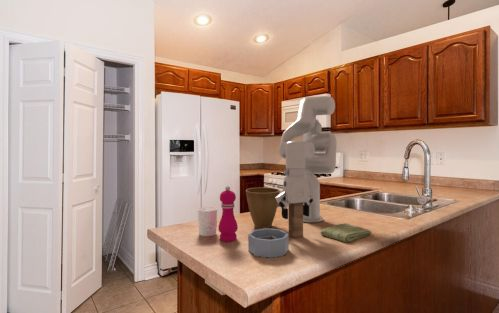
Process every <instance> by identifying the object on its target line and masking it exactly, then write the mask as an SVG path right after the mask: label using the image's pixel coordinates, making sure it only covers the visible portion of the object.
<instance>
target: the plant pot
mask: <svg viewBox="0 0 499 313" xmlns="http://www.w3.org/2000/svg"><path fill="white" fill-rule="evenodd" d="M280 192H281V190H280V189H279V188H275V187H262V186H261V187H260V186H259V187H250V188H247V189H246V190H245V195H246V201H247V205H248V211H249V213H250V217H251V219H252V222H253V225H254V227H255V228H257V227H258V229H266V228H268V229H270V227H272V225H273V222H274V219H275V217H276V212H277V209H278V206H279V204H278V202H277V200H276V197H277V196H278V195H280V194H281V193H280Z"/></svg>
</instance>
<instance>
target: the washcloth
mask: <svg viewBox="0 0 499 313" xmlns="http://www.w3.org/2000/svg"><path fill="white" fill-rule="evenodd" d="M372 234H373V233H372V231H371V230H369V229H367V228H364V227H361V226H359V225H353V224H352V225H351V224H350V223H346V222H345V223H339V224H335V225H333V226H327V227H324V228H323V229H321V231H320V235H322V236H323V237H328V239H329V238H330V239H334V240H336V241H340V242H342V243H345V244H346V243H351V242H354V241H357V240H359V239H362V238H363V237H366V236H369V235H372Z"/></svg>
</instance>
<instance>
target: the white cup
mask: <svg viewBox="0 0 499 313" xmlns="http://www.w3.org/2000/svg"><path fill="white" fill-rule="evenodd" d="M197 223H198V224H197V225H198V235H199V236H202V237H210V236H211V237H212V236H215V235H217V227H218V225H217V224H218V208H217V207H213V206H205V207H199V208H197Z"/></svg>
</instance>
